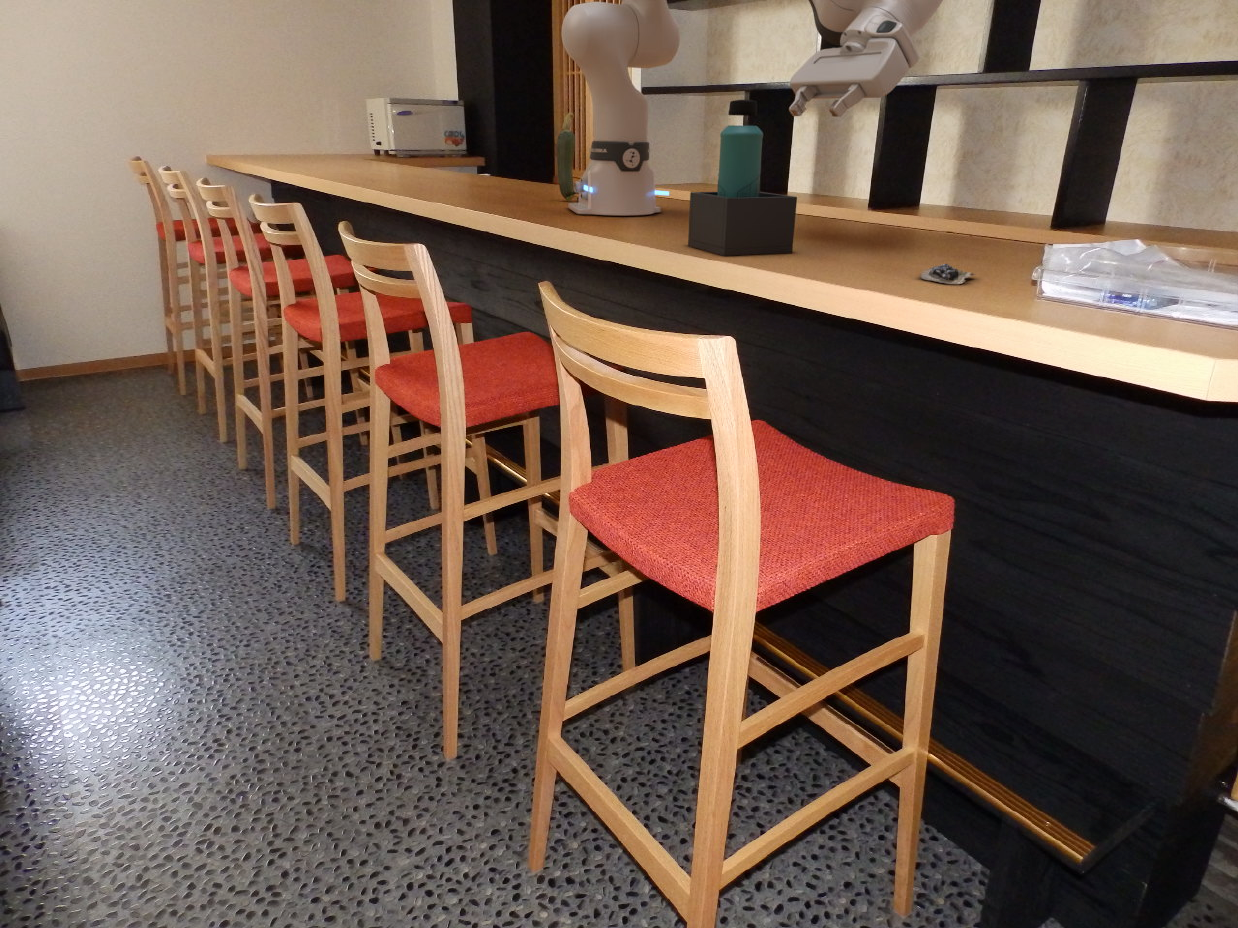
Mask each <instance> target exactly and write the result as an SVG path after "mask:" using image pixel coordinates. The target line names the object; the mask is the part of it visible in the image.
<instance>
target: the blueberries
mask: <svg viewBox="0 0 1238 928" xmlns="http://www.w3.org/2000/svg"><path fill="white" fill-rule="evenodd" d="M919 276H921V277H920V279H921V280H922V279H923V280H925V281H932V282H938V283H940V284H944V285H960V284H964V282H967V280H966V279H970V277H973V276H975V274H974V273H973V272H969V271H966V272H965V271H963V270H959V268H956V267H952V265H950V264H948V263H943V264H940V265H939V266H938V265H935V266H933V267H931V268H929V269H924V270H923V271H922V272H921V273H920V275H919Z"/></svg>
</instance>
